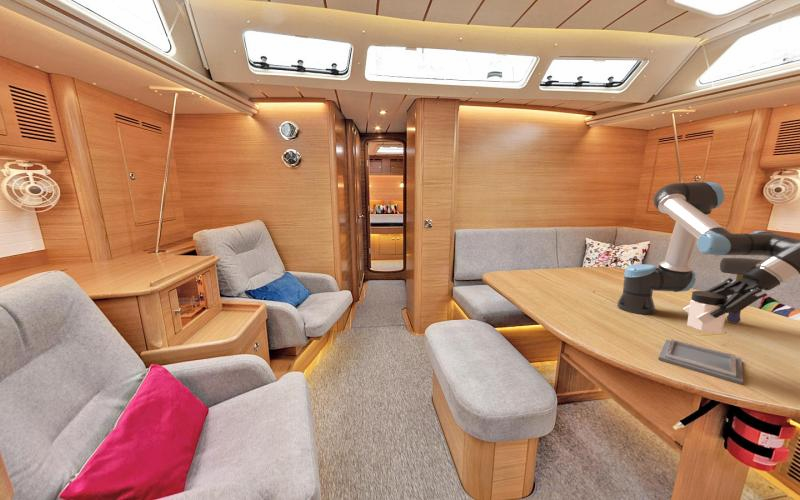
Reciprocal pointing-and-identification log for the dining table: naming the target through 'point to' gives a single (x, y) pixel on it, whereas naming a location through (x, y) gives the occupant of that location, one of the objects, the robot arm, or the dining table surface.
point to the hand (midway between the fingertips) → (693, 316)
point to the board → (703, 361)
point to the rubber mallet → (737, 268)
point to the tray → (698, 364)
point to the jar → (702, 304)
